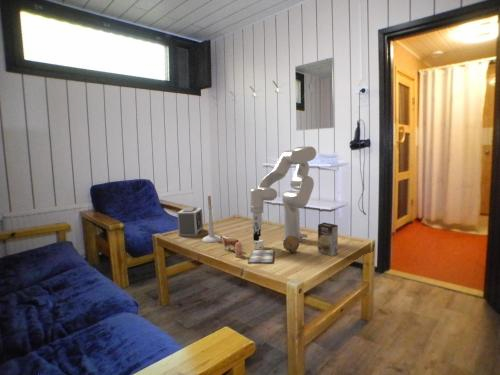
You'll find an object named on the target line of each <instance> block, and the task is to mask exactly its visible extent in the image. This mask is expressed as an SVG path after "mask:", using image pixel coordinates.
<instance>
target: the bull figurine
mask: <svg viewBox="0 0 500 375" xmlns="http://www.w3.org/2000/svg"><path fill="white" fill-rule="evenodd" d="M220 237H221V240H222V241H223V244H224V249H223V250H224V251H226V250H227V249H228V250H230V249H231V248H234V249H233V250H234V251H233V252H234V253H235V244H236V243H237V242H240V240H239V239H236V238H230V237H229V236H228V235H226V234H223V235H222V236H220ZM227 247H228V248H227ZM230 247H231V248H230Z"/></svg>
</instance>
